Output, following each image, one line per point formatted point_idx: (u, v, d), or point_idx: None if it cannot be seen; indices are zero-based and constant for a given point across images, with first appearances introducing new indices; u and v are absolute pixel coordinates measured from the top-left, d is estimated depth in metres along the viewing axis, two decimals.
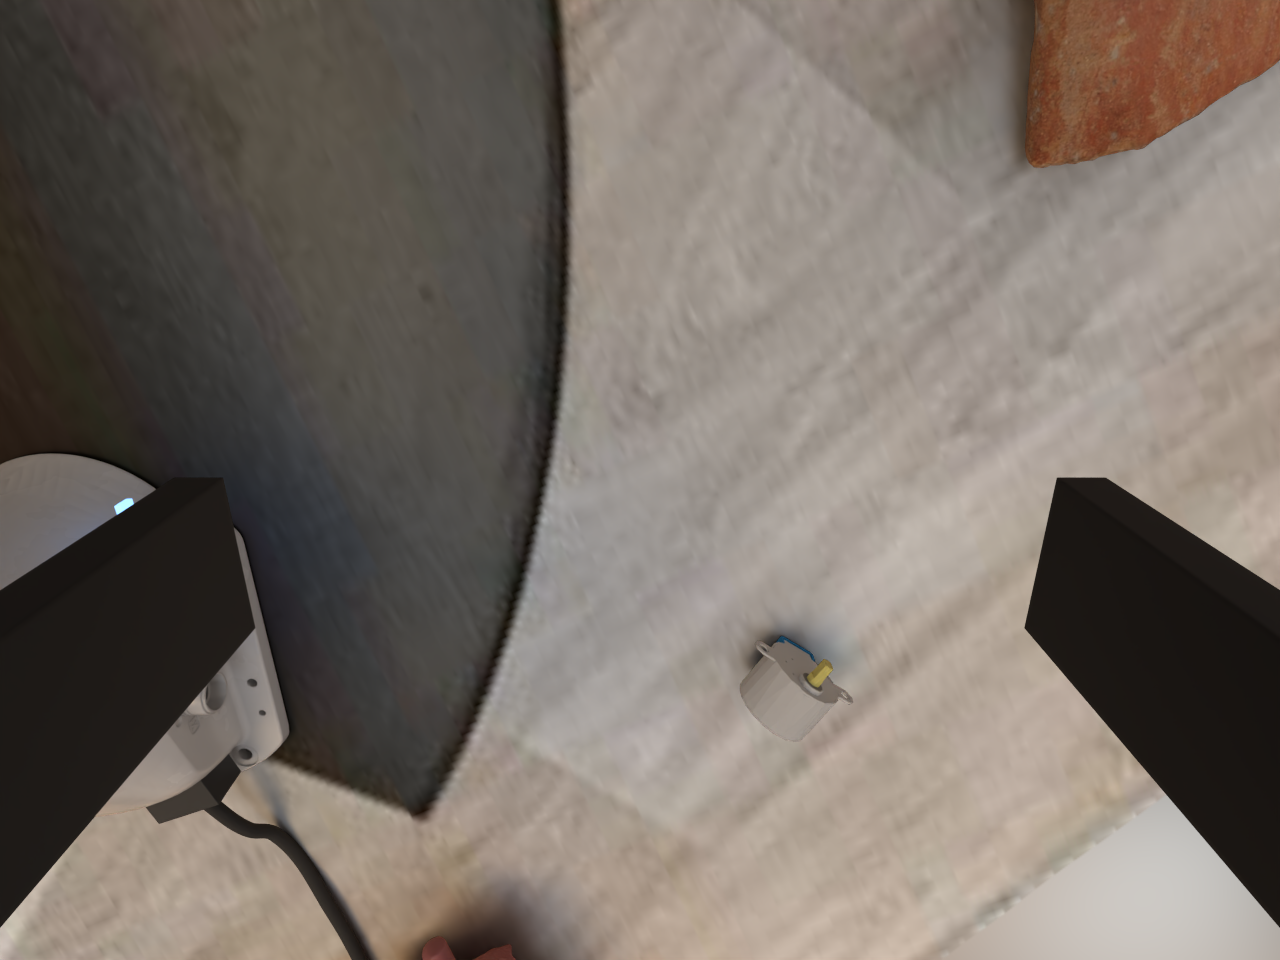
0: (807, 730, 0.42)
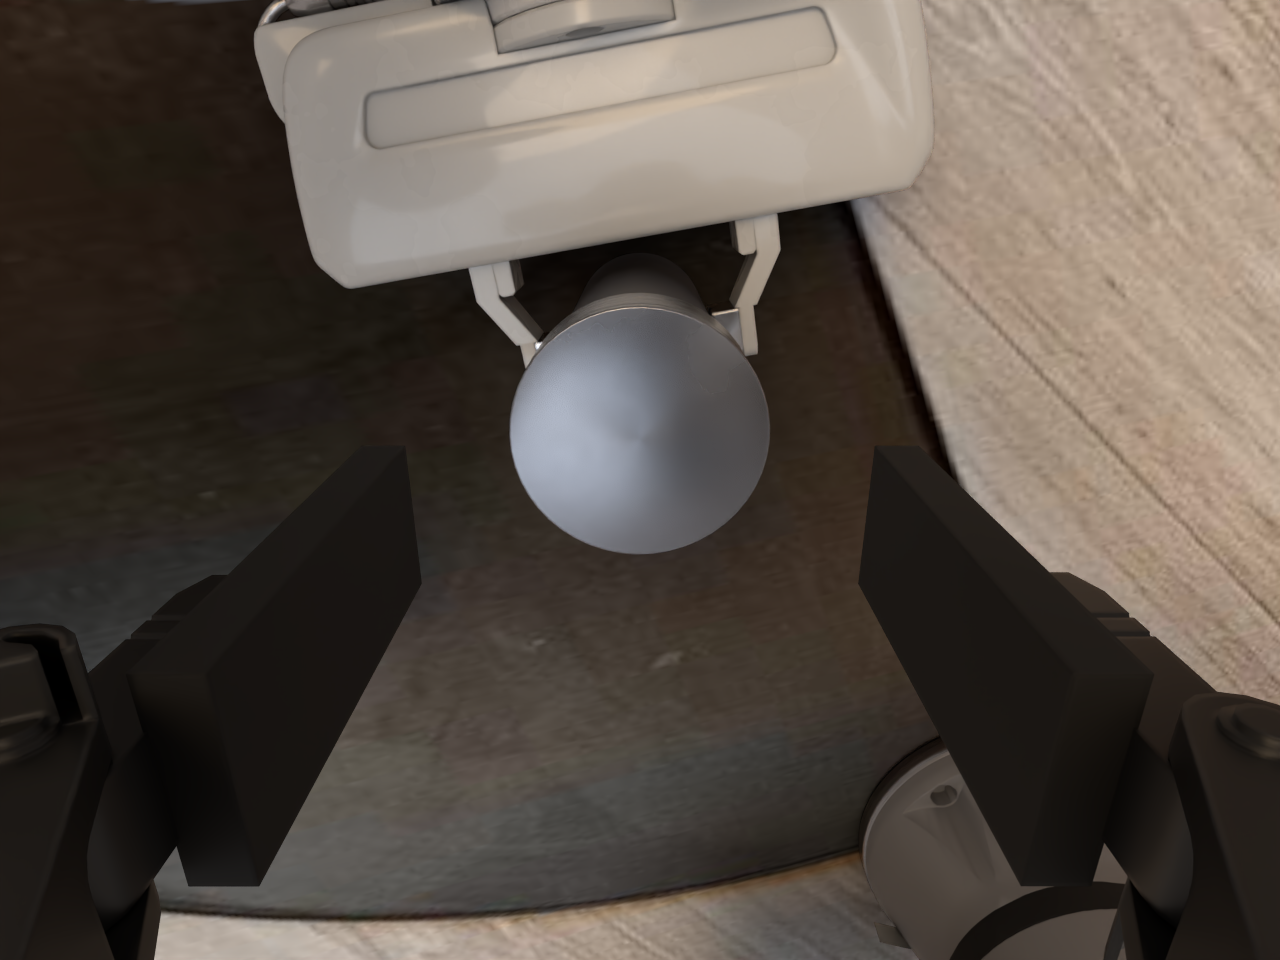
0: None
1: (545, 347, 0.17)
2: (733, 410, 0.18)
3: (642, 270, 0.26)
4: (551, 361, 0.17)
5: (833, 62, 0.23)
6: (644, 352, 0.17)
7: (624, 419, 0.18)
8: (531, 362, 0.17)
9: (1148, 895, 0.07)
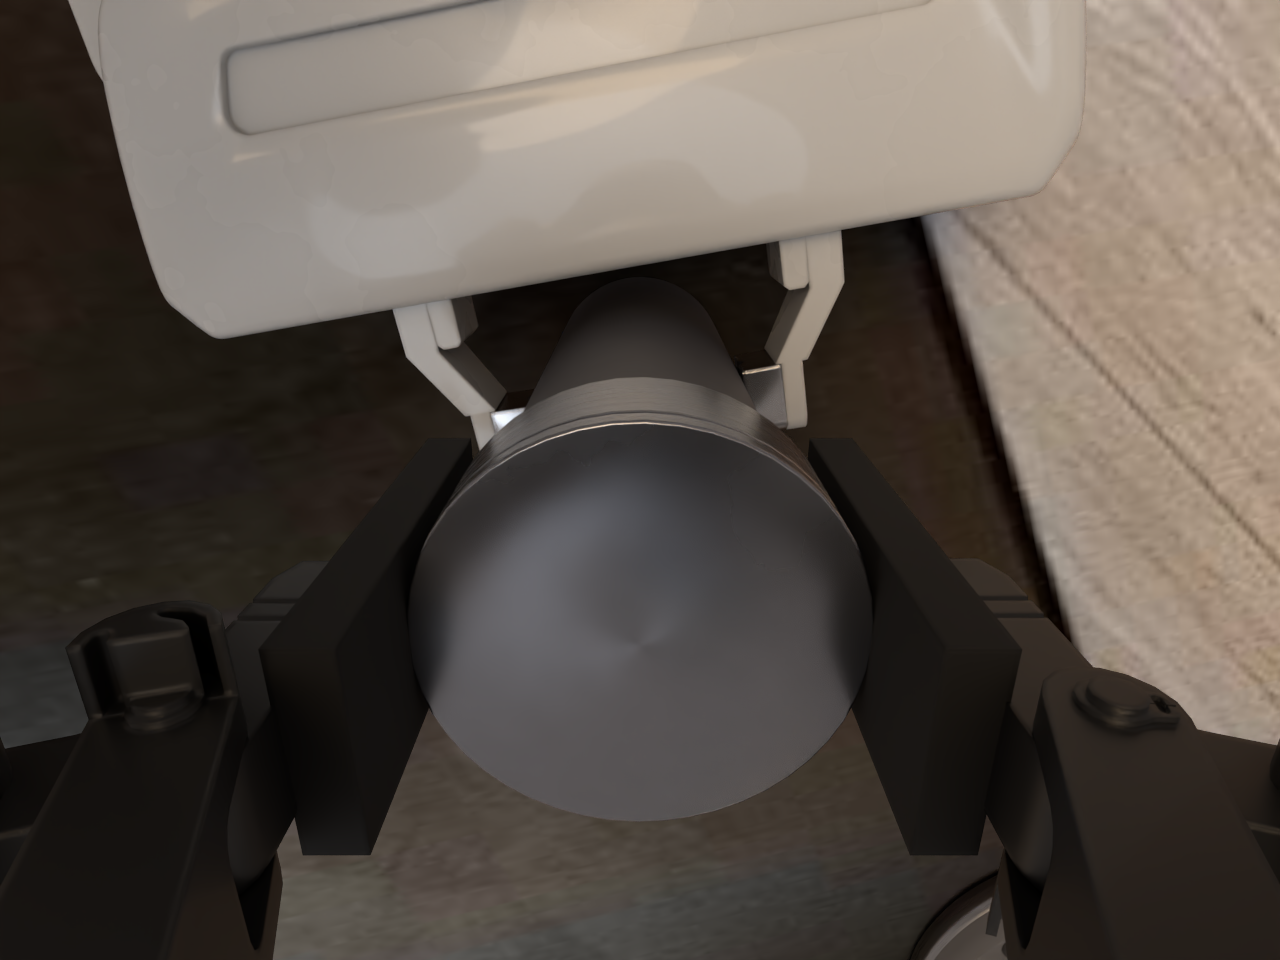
0: None
1: (466, 493, 0.09)
2: (810, 599, 0.10)
3: (643, 310, 0.18)
4: (478, 516, 0.09)
5: (937, 2, 0.15)
6: (649, 501, 0.09)
7: (613, 614, 0.10)
8: (441, 519, 0.09)
9: (1021, 865, 0.07)
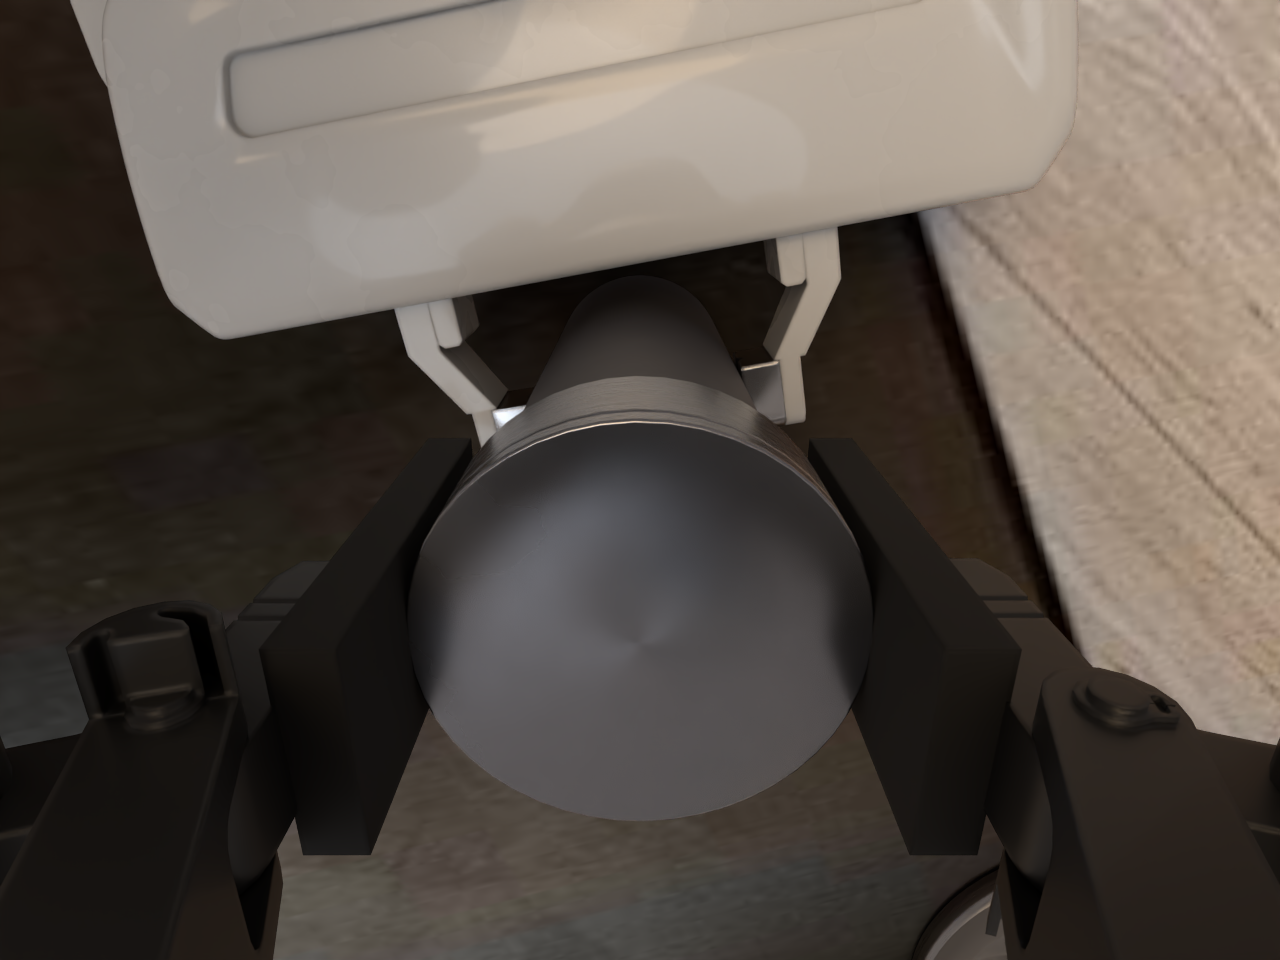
0: None
1: (495, 775, 0.11)
2: (575, 493, 0.09)
3: (642, 308, 0.19)
4: (517, 767, 0.11)
5: None
6: (484, 641, 0.10)
7: (605, 667, 0.10)
8: None
9: (1020, 865, 0.07)
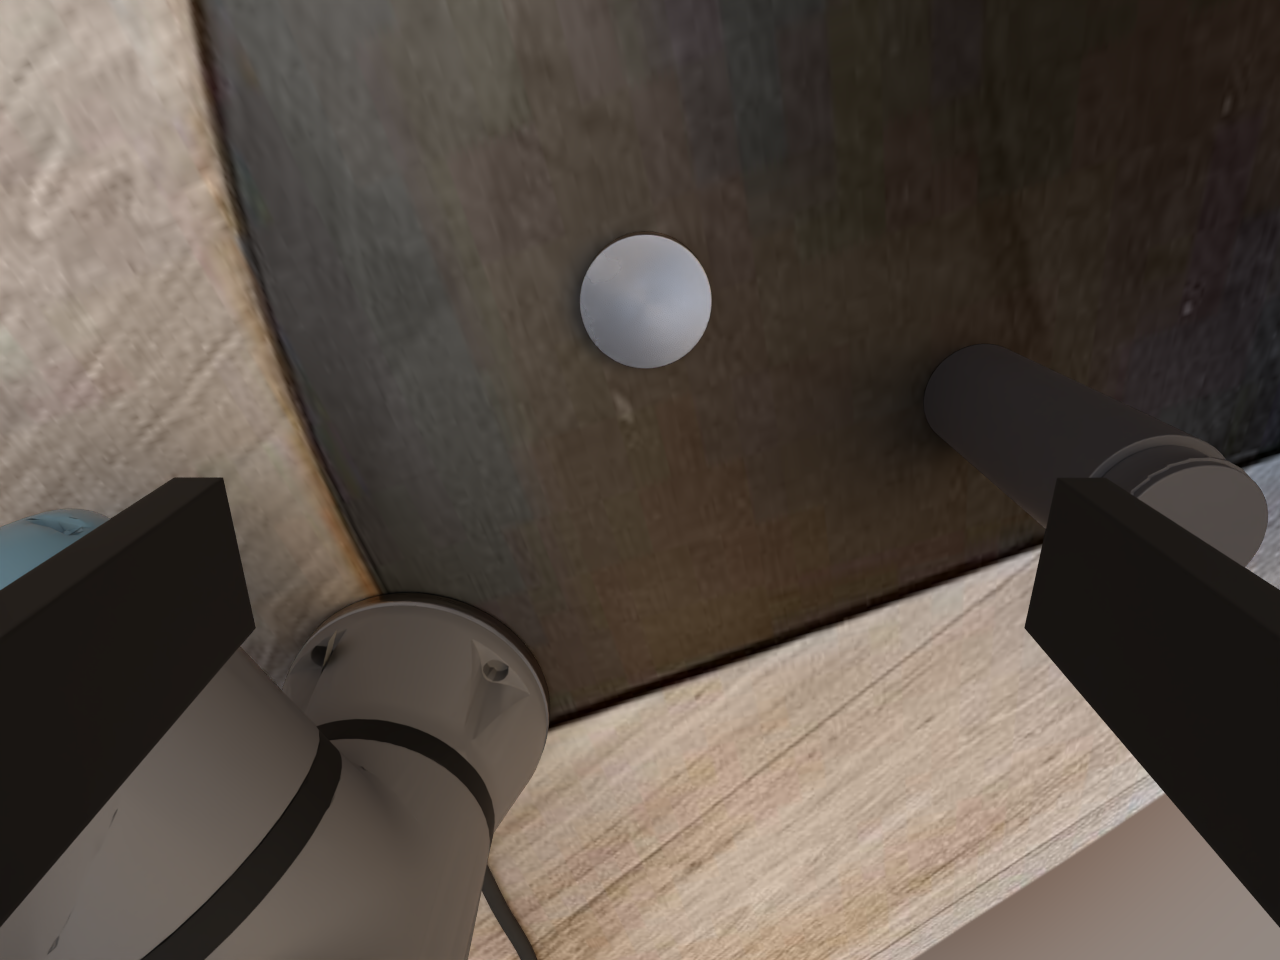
0: None
1: (602, 350, 0.36)
2: (628, 256, 0.34)
3: None
4: (609, 348, 0.36)
5: None
6: (601, 303, 0.35)
7: (636, 311, 0.35)
8: (610, 357, 0.36)
9: None
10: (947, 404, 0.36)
